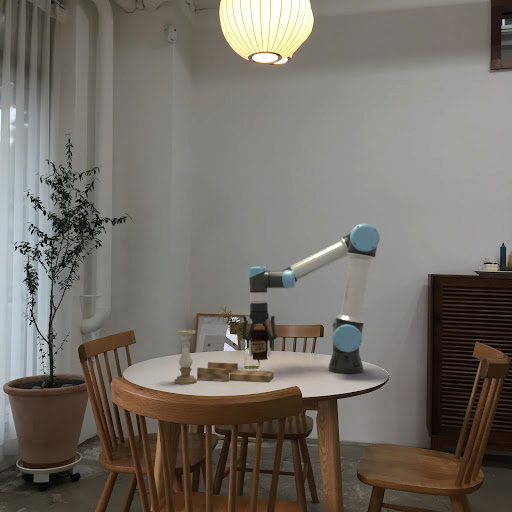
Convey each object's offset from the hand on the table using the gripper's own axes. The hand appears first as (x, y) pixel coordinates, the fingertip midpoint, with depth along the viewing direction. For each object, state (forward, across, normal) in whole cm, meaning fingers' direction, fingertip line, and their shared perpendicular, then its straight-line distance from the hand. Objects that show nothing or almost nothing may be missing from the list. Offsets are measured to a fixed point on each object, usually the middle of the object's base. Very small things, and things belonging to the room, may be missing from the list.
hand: (260, 355), depth 248 cm
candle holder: (+7, +25, +25) cm, 36 cm away
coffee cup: (+2, 0, 0) cm, 2 cm away
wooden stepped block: (+8, +7, +12) cm, 16 cm away
